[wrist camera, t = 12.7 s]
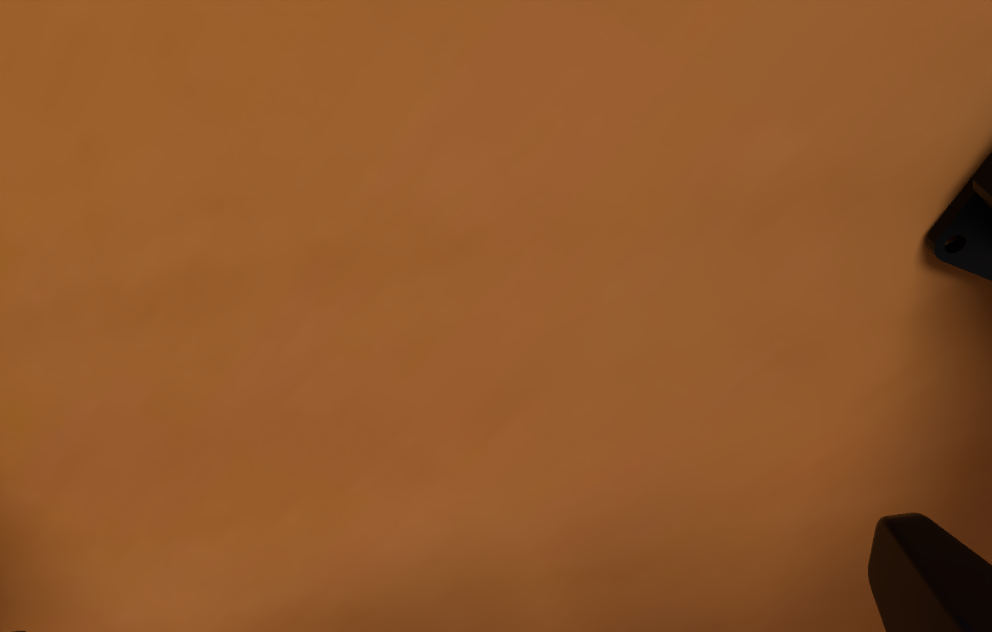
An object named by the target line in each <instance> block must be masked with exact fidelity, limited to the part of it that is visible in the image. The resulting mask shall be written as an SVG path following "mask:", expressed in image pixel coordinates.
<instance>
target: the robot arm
mask: <svg viewBox="0 0 992 632" xmlns="http://www.w3.org/2000/svg"><path fill="white" fill-rule="evenodd" d="M955 235H957V237H956V239H955V240H954V241H953V242H951V243H949V244H946V245H945V243H946V241H947V240H948V239H949V238H951V237H952V236H955ZM926 243H927V246H928V248H929V250H930V251H931V252H932V253H933V254H934V255H935V256H936V257H937V258H938V259H940V260H941V261H943V262H946V263H948V264H951V265H953V266H956V267H958V268H961V269H964V270H966V271H969V272H971V273H974V274H976V275H979V276H981V277H984V278H986V279H989V280H991V281H992V153H991V154H990V155H989V156H988V158H987V159H986V160H985V162H984V163H983V164H982V165H981V167H980V168H979V169H978V170H977V172H976V173H975V174H974V175H973V177H972V178H971V179H970V181H969V182H968V183H967V184H966V186H965V187H964V188H963V189H962V191H961V192H960V193H959V194H958V196H957V197H956V198H955V199H954V201H953V202H952V203H951V205H950V206H949V207H948V208H947V210H946V211H945V212H944V213H943V215H942V216H941V217H940V218H939V220H938V221H937V222H936V224H935V225H934V226H933V227H932V229H931V230H930V232H929V234H928V235H927V241H926ZM868 577H869V582H870V587H871V590H872V593H873V596H874V599H875V601H876V604H877V607H878V610H879V613H880V616H881V618H882V621H883V624H884V627H885V630H886V632H992V565H991V564H989V563H988V562H987V561H985V560H984V559H983V558H981V557H980V556H979V555H977V554H976V553H975V552H973V551H972V550H971V549H969V548H968V547H967V546H965V545H964V544H963V543H961V542H960V541H959V540H957V539H956V538H954V537H953V536H952V535H950V534H949V533H948V532H946V531H945V530H944V529H942V528H941V527H940V526H938V525H937V524H936V523H934V522H933V521H932V520H930V519H929V518H928V517H926V516H924V515H922V514H919V513H905V514H898V515H890V516H885V517H882V518H881V519H880V520H879V521H878V522H877V525H876V529H875V534H874V539H873V544H872V549H871V554H870V559H869V564H868ZM14 632H25V631H14Z"/></svg>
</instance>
